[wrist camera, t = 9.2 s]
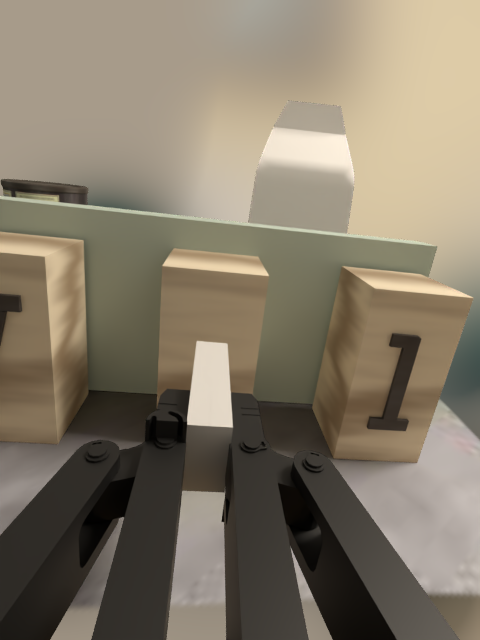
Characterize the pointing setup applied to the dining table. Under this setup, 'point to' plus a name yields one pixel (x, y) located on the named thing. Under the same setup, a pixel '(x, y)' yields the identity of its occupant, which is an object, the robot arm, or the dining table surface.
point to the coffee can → (45, 191)
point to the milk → (305, 171)
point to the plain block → (210, 314)
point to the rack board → (213, 236)
